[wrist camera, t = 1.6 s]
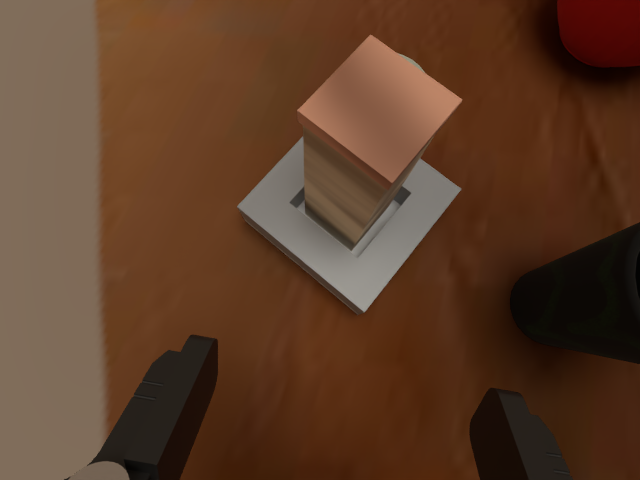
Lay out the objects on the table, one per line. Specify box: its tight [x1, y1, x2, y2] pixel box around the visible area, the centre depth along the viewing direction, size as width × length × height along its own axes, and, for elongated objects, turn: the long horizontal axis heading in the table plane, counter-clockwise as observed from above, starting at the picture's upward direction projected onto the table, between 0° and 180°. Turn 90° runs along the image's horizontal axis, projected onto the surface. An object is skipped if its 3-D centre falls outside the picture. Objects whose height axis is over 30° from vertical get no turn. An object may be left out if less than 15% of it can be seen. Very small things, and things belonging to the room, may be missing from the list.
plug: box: [298, 35, 462, 251], centre depth 22 cm, size 5×5×14 cm
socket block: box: [237, 137, 461, 315], centre depth 28 cm, size 11×11×3 cm
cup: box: [510, 222, 640, 364], centre depth 22 cm, size 8×8×12 cm
